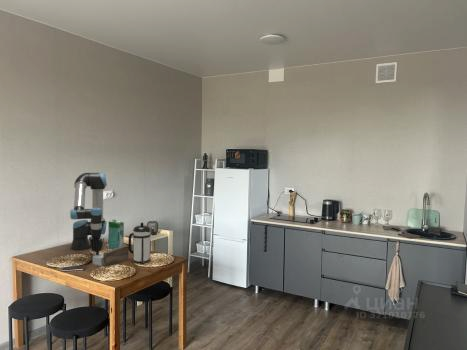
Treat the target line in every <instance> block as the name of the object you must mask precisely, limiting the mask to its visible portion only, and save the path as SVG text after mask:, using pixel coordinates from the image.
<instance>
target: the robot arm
mask: <svg viewBox="0 0 467 350" xmlns="http://www.w3.org/2000/svg"><path fill="white" fill-rule="evenodd" d="M107 186H108V184H107V177H106V174H105V173H104V172H84V173H81V174H80V175H78V176H77V178H76V179H75V181H74V184H73V187H74V188H75V191H74V204H73V209H70V213H69V215H70V217H69V218H70V219H71V220H77V221H75V222H73V224H72V242H71V245H70V249H71V251H72V250H73V251H83V250H88V249H91V251H93V256H96V255H99V254H100V251H102V248H103V243H104V240H105V238H103V237H102V235H103V236H104V235H105V234H106V232H107V223H108V222H107V220H106V219H105V217H104V190H105V189H106V187H107ZM87 187H90V190H91V191H92V195H91V196H92V197H91V199H92V208H86V207H85V204H86V189H87ZM88 220H90V221H88ZM89 236H90V237H89Z"/></svg>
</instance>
